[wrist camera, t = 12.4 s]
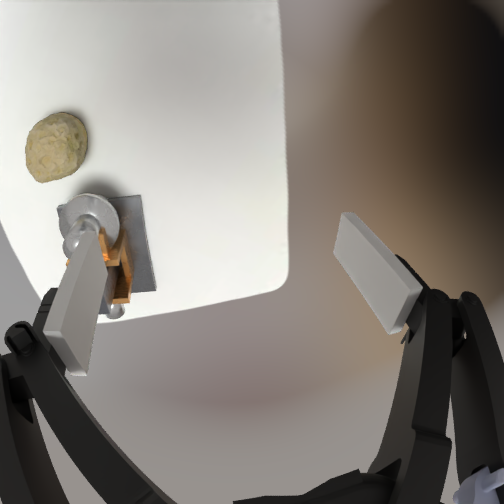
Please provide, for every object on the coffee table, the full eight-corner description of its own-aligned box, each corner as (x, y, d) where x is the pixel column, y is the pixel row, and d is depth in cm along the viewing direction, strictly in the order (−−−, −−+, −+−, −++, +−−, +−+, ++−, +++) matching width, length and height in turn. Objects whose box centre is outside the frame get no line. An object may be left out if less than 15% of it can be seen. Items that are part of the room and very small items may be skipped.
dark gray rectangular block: (93, 243, 43) (75, 293, 33) (116, 241, 44) (102, 291, 34) (99, 263, 45) (84, 315, 36) (121, 261, 46) (110, 313, 36)
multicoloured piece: (53, 185, 37) (21, 223, 27) (137, 173, 40) (123, 209, 30) (86, 292, 49) (73, 341, 40) (156, 287, 52) (154, 338, 42)
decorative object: (55, 164, 38) (62, 207, 35) (13, 135, 29) (9, 178, 25) (95, 125, 38) (107, 163, 34) (55, 88, 28) (57, 123, 25)
